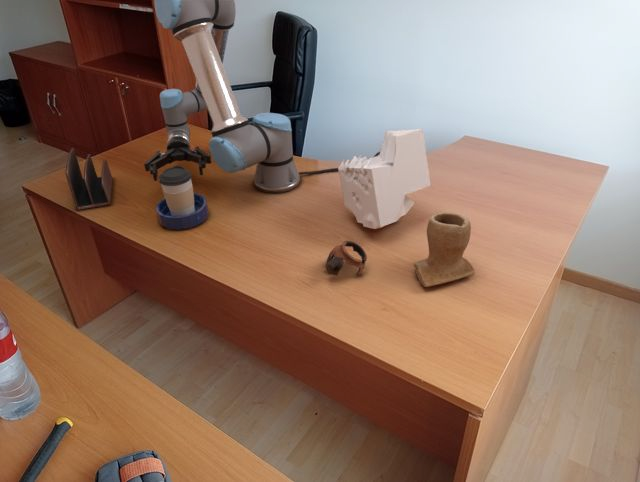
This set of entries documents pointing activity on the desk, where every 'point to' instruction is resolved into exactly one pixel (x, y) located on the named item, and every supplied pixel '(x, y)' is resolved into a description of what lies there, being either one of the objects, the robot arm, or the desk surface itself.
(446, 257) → the stone cup
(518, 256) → the desk surface
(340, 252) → the brown curved piece
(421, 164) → the jagged white plaster chunk
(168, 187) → the coffee cup
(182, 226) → the bowl
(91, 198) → the letter holder
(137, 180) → the desk surface
